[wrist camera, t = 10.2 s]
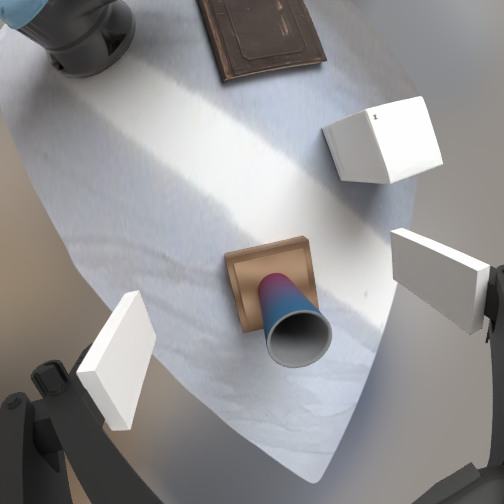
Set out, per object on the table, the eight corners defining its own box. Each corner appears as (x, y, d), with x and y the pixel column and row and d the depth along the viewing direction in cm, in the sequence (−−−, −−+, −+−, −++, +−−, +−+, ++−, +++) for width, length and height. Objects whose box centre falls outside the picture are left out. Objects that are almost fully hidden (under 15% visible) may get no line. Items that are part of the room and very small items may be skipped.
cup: (305, 296, 45) (341, 347, 31) (265, 318, 45) (285, 378, 31) (285, 257, 43) (316, 297, 29) (243, 281, 44) (254, 332, 29)
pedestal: (224, 253, 46) (225, 259, 43) (303, 235, 46) (309, 240, 43) (242, 324, 49) (243, 334, 46) (314, 306, 49) (320, 315, 46)
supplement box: (339, 182, 45) (389, 187, 31) (320, 127, 43) (362, 108, 28) (387, 166, 45) (445, 165, 31) (369, 113, 43) (423, 94, 28)
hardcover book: (280, -37, 35) (282, -44, 33) (322, 65, 41) (327, 60, 39) (190, -23, 35) (189, -31, 32) (222, 83, 40) (222, 79, 38)
